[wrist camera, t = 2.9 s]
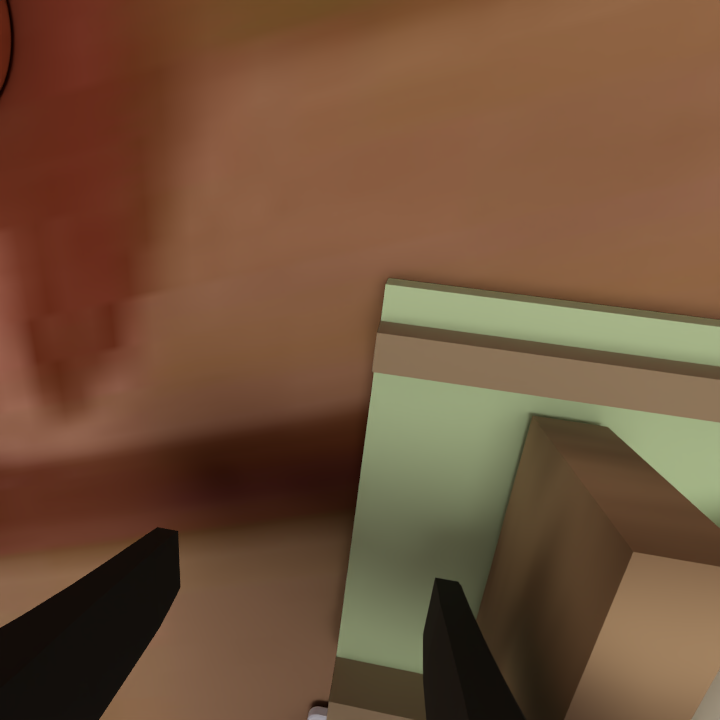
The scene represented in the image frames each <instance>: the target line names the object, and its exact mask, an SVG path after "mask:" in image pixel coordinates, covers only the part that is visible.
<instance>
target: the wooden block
mask: <svg viewBox="0 0 720 720" xmlns="http://www.w3.org/2000/svg"><path fill="white" fill-rule="evenodd" d="M476 622H477V624H478V626H479V628H480V631H481V633H482V635H483V637H484V639H485V641H486V643H487V645H488V648H489V650H490V652H491V654H492V656H493V658H494V660H495V662H496V664H497V666H498V668H499V670H500V672H501V674H502V676H503V677H504V679H505V681H506V683H507V685H508V687H509V689H510V691H511V693H512V695H513V696H514V698H515V700H516V702H517V704H518V705H519V707H520V709H521V711H522V713H523V714H524V716H525V718H526V720H691V719H692V717H693V716H694V714H695V712H696V710H697V708H698V707H699V705H700V703H701V701H702V700H703V698H704V696H705V694H706V693H707V691H708V689H709V687H710V685H711V684H712V682H713V680H714V678H715V677H716V675H717V673H718V671H719V669H720V528H719V527H718V526H717V525H716V524H715V523H713V522H712V521H711V520H710V519H709V518H708V517H707V516H706V515H705V514H703V513H702V512H701V511H700V510H699V509H698V508H697V507H696V506H695V505H694V504H692V503H691V502H690V501H689V500H688V499H687V498H686V497H685V496H684V495H682V494H681V493H680V492H679V491H678V490H677V489H676V488H675V487H674V486H673V485H671V484H670V483H669V482H668V481H667V480H666V479H665V478H664V477H663V476H661V475H660V474H659V473H658V472H657V471H656V470H655V469H654V468H653V467H652V466H650V465H649V464H648V463H647V462H646V461H645V460H644V459H643V458H642V457H640V456H639V455H638V454H637V453H636V452H635V451H634V450H633V449H632V448H631V447H629V446H628V445H627V444H626V443H625V442H624V441H623V440H622V439H621V438H619V437H618V436H617V435H616V434H615V433H614V432H613V431H612V430H611V429H610V428H608V427H605V426H599V425H592V424H585V423H579V422H572V421H565V420H559V419H552V418H545V417H538V416H532V420H531V423H530V427H529V430H528V434H527V438H526V441H525V445H524V448H523V452H522V456H521V459H520V463H519V467H518V470H517V474H516V477H515V481H514V485H513V488H512V492H511V496H510V499H509V503H508V506H507V510H506V514H505V517H504V521H503V525H502V528H501V532H500V535H499V539H498V543H497V546H496V550H495V554H494V557H493V561H492V564H491V568H490V572H489V575H488V579H487V583H486V586H485V590H484V593H483V597H482V601H481V604H480V608H479V611H478V615H477V619H476Z"/></svg>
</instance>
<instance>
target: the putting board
mask: <svg viewBox="0 0 720 720" xmlns="http://www.w3.org/2000/svg"><path fill="white" fill-rule="evenodd" d="M372 372H374V376H373V383H372V391H371V399H370V406H369V414H368V421H367V429H366V436H365V444H364V451H363V459H362V466H361V474H360V482H359V489H358V497H357V504H356V512H355V519H354V527H353V534H352V542H351V549H350V557H349V565H348V572H347V580H346V587H345V595H344V602H343V610H342V617H341V625H340V632H339V640H338V647H337V655H336V661H335V667H334V673H333V679H332V685H331V691H330V697H329V703H328V711H327V719H326V720H426V710H425V699H424V687H423V631H424V627H425V622H426V617H427V613H428V608H429V604H430V599H431V594H432V590H433V585H434V580H435V577H436V578H441V579H447V580H452V581H458V582H459V583H460V585H461V586H462V588H463V591H464V594H465V596H466V598H467V601H468V603H469V606H470V608H471V610H472V613H473V615H474V617H475V620H476V619H477V615H478V611H479V608H480V604H481V601H482V597H483V593H484V590H485V586H486V583H487V579H488V575H489V572H490V568H491V564H492V561H493V557H494V554H495V550H496V546H497V543H498V539H499V535H500V532H501V528H502V525H503V521H504V517H505V514H506V510H507V506H508V503H509V499H510V496H511V492H512V488H513V485H514V481H515V477H516V474H517V470H518V467H519V463H520V459H521V456H522V452H523V448H524V445H525V441H526V438H527V434H528V430H529V427H530V423H531V420H532V416H538V417H545V418H552V419H559V420H565V421H572V422H579V423H585V424H592V425H599V426H605V427H608V428H610V429H611V430H612V431H613V432H614V433H615V434H616V435H617V436H618V437H619V438H621V439H622V440H623V441H624V442H625V443H626V444H627V445H628V446H629V447H631V448H632V449H633V450H634V451H635V452H636V453H637V454H638V455H639V456H640V457H642V458H643V459H644V460H645V461H646V462H647V463H648V464H649V465H650V466H652V467H653V468H654V469H655V470H656V471H657V472H658V473H659V474H660V475H661V476H663V477H664V478H665V479H666V480H667V481H668V482H669V483H670V484H671V485H673V486H674V487H675V488H676V489H677V490H678V491H679V492H680V493H681V494H682V495H684V496H685V497H686V498H687V499H688V500H689V501H690V502H691V503H692V504H694V505H695V506H696V507H697V508H698V509H699V510H700V511H701V512H702V513H703V514H705V515H706V516H707V517H708V518H709V519H710V520H711V521H712V522H713V523H715V524H716V525H717V526H718V527H719V528H720V320H717V319H709V318H701V317H693V316H685V315H678V314H670V313H662V312H654V311H646V310H638V309H630V308H622V307H614V306H606V305H599V304H591V303H583V302H575V301H567V300H559V299H551V298H543V297H535V296H528V295H520V294H512V293H504V292H496V291H488V290H480V289H472V288H464V287H456V286H449V285H441V284H433V283H425V282H417V281H409V280H401V279H393V278H388V280H387V283H386V285H385V293H384V300H383V308H382V316H381V322H380V325H379V328H378V331H377V336H376V344H375V351H374V359H373V367H372Z"/></svg>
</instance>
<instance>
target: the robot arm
mask: <svg viewBox="0 0 720 720" xmlns="http://www.w3.org/2000/svg"><path fill="white" fill-rule="evenodd" d="M179 589H180V568H179V544H178V531H175V530H170V529H164V528H158V527H157V528H156V529H154V530H153V531H151V532H150V533H148V534H147V535H145V536H144V537H142V538H141V539H139V540H138V541H136V542H135V543H133V544H132V545H130V546H129V547H127V548H126V549H124V550H123V551H122V552H120V553H119V554H117V555H116V556H114V557H113V558H111V559H110V560H108V561H107V562H105V563H104V564H102V565H101V566H99V567H98V568H96V569H95V570H93V571H92V572H90V573H89V574H87V575H86V576H84V577H83V578H81V579H80V580H78V581H77V582H75V583H74V584H72V585H70V586H69V587H67V588H66V589H64V590H62V591H61V592H59V593H57V594H56V595H54V596H53V597H51V598H49V599H48V600H46V601H45V602H43V603H41V604H40V605H38V606H36V607H35V608H33V609H32V610H30V611H28V612H27V613H25V614H23V615H22V616H20V617H18V618H17V619H15V620H13V621H11V622H10V623H8V624H6V625H4V626H3V627H1V628H0V720H99V719H100V717H101V716H102V714H103V713H104V711H105V710H106V708H107V707H108V705H109V704H110V702H111V701H112V699H113V698H114V696H115V695H116V693H117V692H118V690H119V689H120V687H121V686H122V684H123V683H124V681H125V680H126V678H127V677H128V675H129V674H130V672H131V670H132V669H133V667H134V666H135V664H136V663H137V661H138V660H139V658H140V657H141V655H142V654H143V652H144V651H145V649H146V648H147V646H148V645H149V643H150V641H151V640H152V638H153V637H154V635H155V634H156V632H157V631H158V629H159V627H160V626H161V624H162V622H163V620H164V618H165V616H166V614H167V613H168V611H169V609H170V607H171V605H172V603H173V601H174V599H175V597H176V595H177V593H178V591H179ZM423 687H424V699H425V710H426V720H526V718H525V716H524V714H523V713H522V711H521V709H520V707H519V705H518V704H517V702H516V700H515V698H514V696H513V695H512V693H511V691H510V689H509V687H508V685H507V683H506V681H505V679H504V677H503V676H502V674H501V672H500V670H499V668H498V666H497V664H496V662H495V660H494V658H493V656H492V654H491V652H490V650H489V648H488V645H487V643H486V641H485V639H484V637H483V635H482V633H481V631H480V628H479V626H478V624H477V622H476V620H475V617H474V615H473V613H472V610H471V608H470V606H469V603H468V601H467V598H466V596H465V594H464V591H463V588H462V586H461V585H460V583H459V582H458V581H452V580H447V579H441V578H436V577H435V580H434V585H433V590H432V594H431V599H430V604H429V608H428V613H427V617H426V622H425V627H424V631H423ZM327 711H328V708H325V707H320V706H316V707H313V708H311V709H310V711H309V715H308V720H326V719H327Z"/></svg>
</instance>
